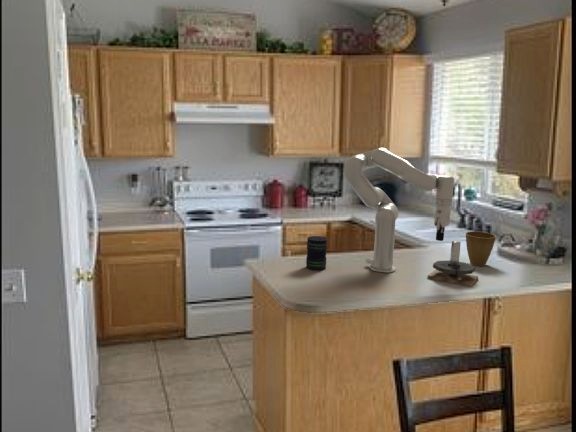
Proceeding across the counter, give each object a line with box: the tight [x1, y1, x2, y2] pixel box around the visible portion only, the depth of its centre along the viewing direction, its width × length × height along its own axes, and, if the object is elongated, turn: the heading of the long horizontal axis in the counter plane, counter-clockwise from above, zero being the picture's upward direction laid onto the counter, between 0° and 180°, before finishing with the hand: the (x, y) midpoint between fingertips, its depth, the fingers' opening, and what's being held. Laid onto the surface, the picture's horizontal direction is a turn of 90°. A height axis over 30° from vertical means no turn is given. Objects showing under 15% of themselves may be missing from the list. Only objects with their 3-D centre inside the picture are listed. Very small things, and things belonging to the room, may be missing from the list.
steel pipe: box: [449, 240, 462, 277], centre depth 265 cm, size 4×4×16 cm
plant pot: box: [465, 230, 497, 267], centre depth 294 cm, size 15×15×16 cm
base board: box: [426, 269, 479, 287], centre depth 266 cm, size 20×14×2 cm
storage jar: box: [305, 235, 328, 272], centre depth 275 cm, size 10×10×15 cm
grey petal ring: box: [432, 260, 476, 275], centre depth 265 cm, size 18×18×2 cm
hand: (439, 240), depth 267 cm, fingers closed
